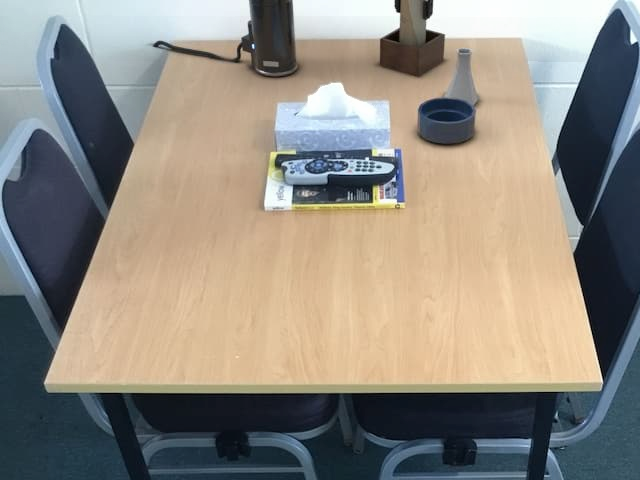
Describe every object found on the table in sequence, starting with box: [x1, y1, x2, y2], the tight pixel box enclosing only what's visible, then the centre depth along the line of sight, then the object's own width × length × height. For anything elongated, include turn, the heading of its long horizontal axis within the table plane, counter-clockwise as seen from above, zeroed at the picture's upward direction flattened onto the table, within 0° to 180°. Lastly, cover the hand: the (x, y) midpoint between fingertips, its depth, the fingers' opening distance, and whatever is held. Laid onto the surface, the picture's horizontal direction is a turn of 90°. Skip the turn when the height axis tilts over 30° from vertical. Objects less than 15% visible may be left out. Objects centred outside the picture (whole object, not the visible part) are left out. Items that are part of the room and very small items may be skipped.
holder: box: [379, 27, 446, 77], centre depth 191 cm, size 10×10×6 cm
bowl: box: [416, 96, 477, 145], centre depth 170 cm, size 11×11×4 cm
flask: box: [443, 47, 479, 107], centre depth 177 cm, size 7×7×10 cm
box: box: [399, 0, 427, 48], centre depth 187 cm, size 5×4×11 cm
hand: (413, 14), depth 186 cm, fingers closed on box, 6 cm apart
